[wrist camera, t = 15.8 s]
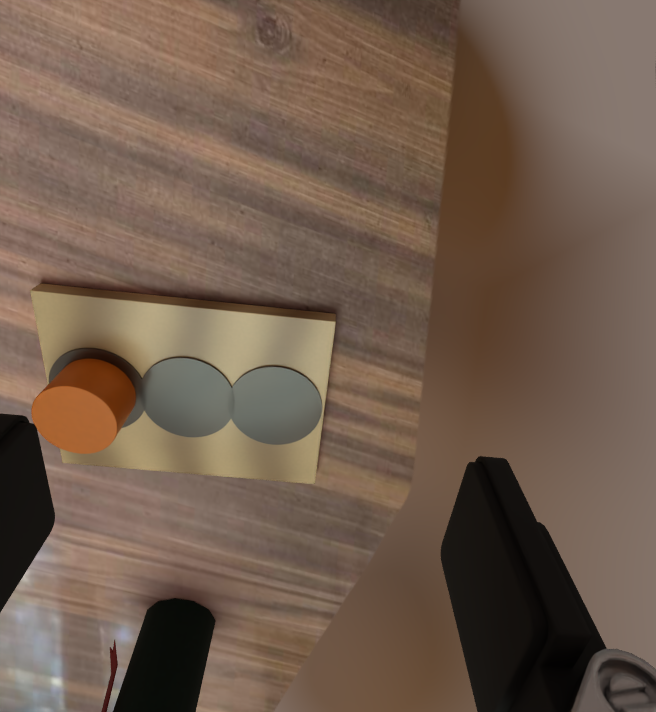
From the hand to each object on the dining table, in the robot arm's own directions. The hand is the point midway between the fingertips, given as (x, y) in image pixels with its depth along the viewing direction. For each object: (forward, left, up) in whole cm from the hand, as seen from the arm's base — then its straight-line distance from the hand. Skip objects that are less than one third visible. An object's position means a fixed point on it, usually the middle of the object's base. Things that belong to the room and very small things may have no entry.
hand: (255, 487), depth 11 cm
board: (+8, +15, -26) cm, 31 cm away
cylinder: (+15, +15, -25) cm, 32 cm away
